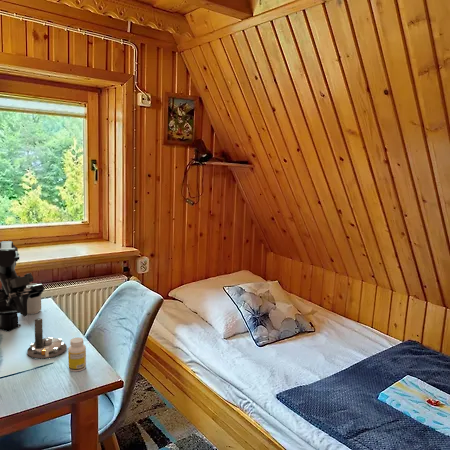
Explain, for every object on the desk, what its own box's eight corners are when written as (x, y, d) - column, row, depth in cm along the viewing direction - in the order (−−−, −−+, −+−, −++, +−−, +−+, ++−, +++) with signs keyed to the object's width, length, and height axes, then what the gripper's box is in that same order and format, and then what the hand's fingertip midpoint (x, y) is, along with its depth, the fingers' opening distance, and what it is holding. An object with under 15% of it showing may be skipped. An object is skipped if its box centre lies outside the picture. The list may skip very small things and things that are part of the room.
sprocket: (27, 355, 144) (26, 323, 142) (33, 342, 154) (32, 311, 152) (61, 353, 146) (61, 321, 145) (65, 340, 157) (65, 310, 155)
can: (44, 312, 185) (43, 285, 183) (26, 316, 180) (26, 288, 178) (37, 307, 190) (36, 281, 188) (19, 311, 185) (18, 284, 183)
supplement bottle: (73, 363, 143) (72, 335, 141) (88, 364, 142) (88, 337, 140) (65, 371, 137) (65, 342, 136) (81, 373, 137) (81, 344, 135)
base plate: (18, 354, 146) (18, 344, 146) (45, 340, 158) (44, 330, 158) (49, 362, 142) (49, 351, 142) (74, 346, 154) (74, 336, 154)
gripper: (-11, 272, 144) (7, 311, 140) (41, 262, 159) (58, 298, 155) (-20, 288, 150) (-4, 327, 146) (30, 278, 165) (47, 313, 160)
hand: (25, 315), depth 151 cm, fingers closed
